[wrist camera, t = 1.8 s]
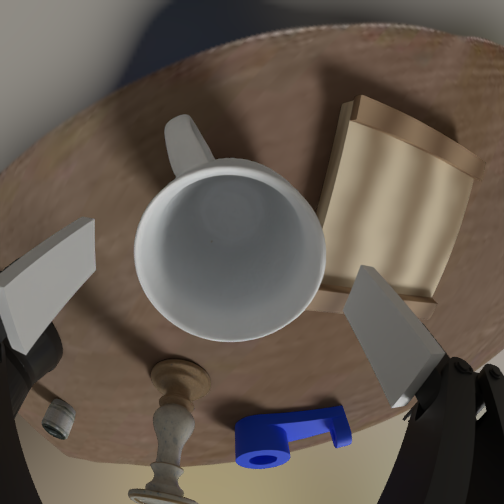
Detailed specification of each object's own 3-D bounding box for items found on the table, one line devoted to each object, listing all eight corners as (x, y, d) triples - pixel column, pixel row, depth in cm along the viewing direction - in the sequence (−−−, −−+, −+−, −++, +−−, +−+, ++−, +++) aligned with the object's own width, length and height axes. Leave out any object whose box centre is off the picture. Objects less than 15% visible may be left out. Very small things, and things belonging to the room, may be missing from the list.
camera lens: (81, 418, 42) (71, 445, 35) (59, 411, 42) (48, 436, 34) (70, 401, 40) (57, 430, 32) (48, 394, 39) (35, 420, 32)
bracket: (239, 438, 44) (240, 470, 37) (230, 416, 41) (231, 452, 34) (338, 422, 44) (347, 452, 37) (343, 397, 41) (355, 432, 34)
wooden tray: (294, 286, 31) (302, 309, 27) (342, 100, 23) (361, 94, 19) (413, 301, 33) (429, 319, 29) (462, 157, 25) (485, 162, 21)
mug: (141, 150, 24) (68, 164, 12) (244, 98, 23) (251, 59, 11) (208, 275, 30) (193, 362, 18) (303, 234, 28) (348, 304, 16)
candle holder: (161, 349, 34) (127, 488, 15) (220, 371, 36) (217, 508, 17) (146, 383, 36) (118, 499, 18) (198, 401, 38) (189, 517, 20)
